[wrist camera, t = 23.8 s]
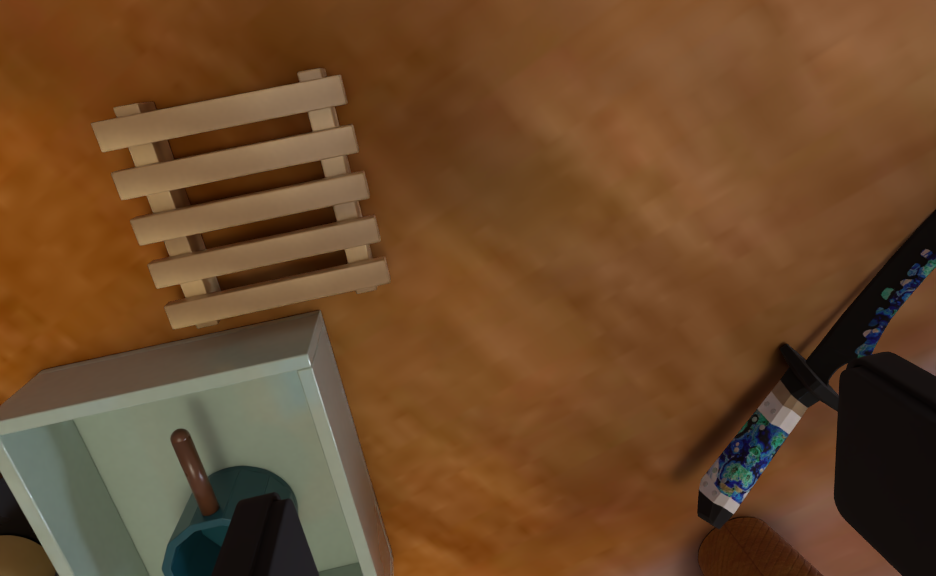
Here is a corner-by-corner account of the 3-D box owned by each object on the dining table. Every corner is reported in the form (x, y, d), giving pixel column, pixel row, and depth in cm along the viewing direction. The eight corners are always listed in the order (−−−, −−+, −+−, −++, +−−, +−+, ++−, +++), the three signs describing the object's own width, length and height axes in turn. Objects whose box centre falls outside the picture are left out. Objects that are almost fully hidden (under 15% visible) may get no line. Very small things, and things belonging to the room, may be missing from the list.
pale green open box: (41, 369, 35) (-27, 426, 29) (320, 309, 36) (307, 353, 30) (162, 611, 42) (125, 696, 36) (393, 556, 43) (394, 630, 37)
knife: (685, 498, 43) (723, 540, 38) (659, 477, 42) (695, 517, 37) (988, 169, 40) (1064, 174, 36) (967, 139, 39) (1042, 140, 35)
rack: (113, 109, 31) (85, 112, 28) (341, 64, 31) (337, 63, 29) (192, 317, 35) (175, 338, 32) (392, 274, 36) (392, 291, 33)
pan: (310, 536, 41) (299, 596, 36) (210, 560, 40) (187, 623, 35) (255, 380, 36) (234, 426, 32) (142, 405, 36) (105, 455, 31)
